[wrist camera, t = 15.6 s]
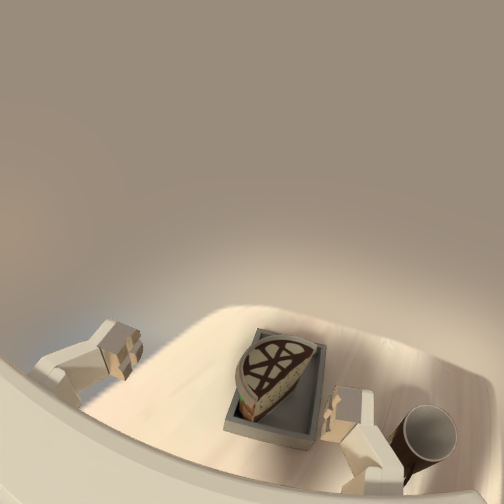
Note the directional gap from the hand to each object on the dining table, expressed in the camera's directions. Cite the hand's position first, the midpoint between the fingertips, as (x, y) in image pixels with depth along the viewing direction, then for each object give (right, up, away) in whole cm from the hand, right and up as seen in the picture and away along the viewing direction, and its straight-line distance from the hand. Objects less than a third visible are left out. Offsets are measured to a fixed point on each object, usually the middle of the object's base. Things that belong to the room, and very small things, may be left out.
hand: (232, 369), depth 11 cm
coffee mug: (+19, -26, +20) cm, 38 cm away
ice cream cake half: (+1, -16, +29) cm, 33 cm away
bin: (+5, -16, +31) cm, 35 cm away
